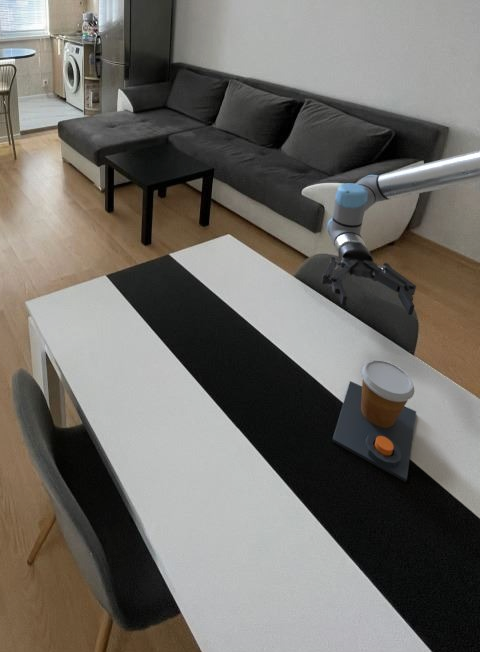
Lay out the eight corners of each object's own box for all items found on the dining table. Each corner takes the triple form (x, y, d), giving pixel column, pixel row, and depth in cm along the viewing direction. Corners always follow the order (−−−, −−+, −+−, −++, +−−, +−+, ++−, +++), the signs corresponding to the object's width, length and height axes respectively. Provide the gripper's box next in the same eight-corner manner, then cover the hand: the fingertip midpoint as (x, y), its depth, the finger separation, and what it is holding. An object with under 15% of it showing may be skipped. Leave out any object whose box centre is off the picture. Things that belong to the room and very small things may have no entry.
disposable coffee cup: (346, 414, 97) (355, 375, 92) (361, 387, 102) (370, 350, 98) (396, 444, 90) (408, 404, 86) (408, 414, 96) (421, 375, 91)
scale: (348, 386, 105) (351, 376, 104) (414, 417, 97) (417, 406, 96) (331, 444, 93) (333, 433, 91) (404, 485, 85) (408, 474, 83)
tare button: (375, 438, 90) (377, 432, 90) (393, 447, 88) (394, 441, 88) (373, 449, 88) (374, 444, 88) (390, 459, 86) (392, 453, 86)
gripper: (402, 270, 117) (437, 327, 98) (302, 258, 124) (315, 309, 106) (408, 247, 114) (445, 301, 95) (305, 236, 122) (320, 285, 103)
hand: (377, 305), depth 100 cm, fingers open, 13 cm apart
